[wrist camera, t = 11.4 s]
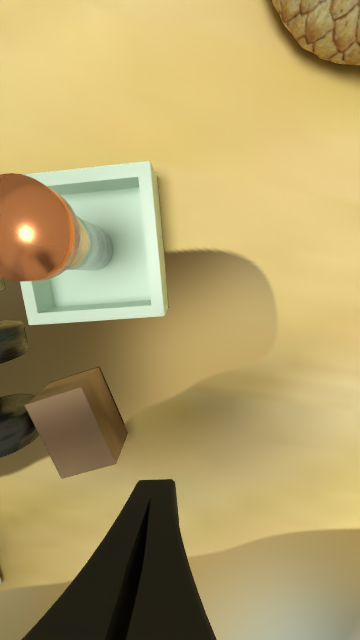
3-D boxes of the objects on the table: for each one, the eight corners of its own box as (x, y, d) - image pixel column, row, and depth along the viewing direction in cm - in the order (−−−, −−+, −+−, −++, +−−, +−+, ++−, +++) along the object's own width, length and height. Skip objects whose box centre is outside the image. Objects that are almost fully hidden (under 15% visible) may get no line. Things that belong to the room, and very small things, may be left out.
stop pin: (126, 270, 16) (80, 268, 9) (72, 283, 16) (-16, 291, 9) (112, 211, 15) (50, 161, 8) (55, 226, 15) (-51, 188, 8)
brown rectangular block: (128, 432, 19) (115, 463, 16) (81, 445, 19) (61, 478, 17) (99, 366, 18) (81, 387, 15) (51, 381, 19) (24, 405, 16)
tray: (168, 307, 17) (164, 316, 14) (52, 315, 17) (28, 325, 15) (157, 176, 15) (149, 160, 13) (29, 189, 16) (-2, 176, 13)
